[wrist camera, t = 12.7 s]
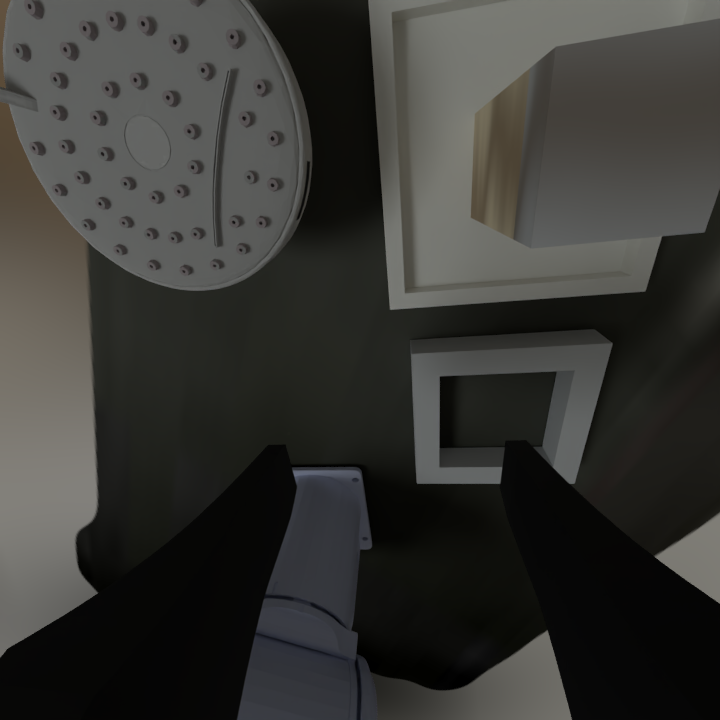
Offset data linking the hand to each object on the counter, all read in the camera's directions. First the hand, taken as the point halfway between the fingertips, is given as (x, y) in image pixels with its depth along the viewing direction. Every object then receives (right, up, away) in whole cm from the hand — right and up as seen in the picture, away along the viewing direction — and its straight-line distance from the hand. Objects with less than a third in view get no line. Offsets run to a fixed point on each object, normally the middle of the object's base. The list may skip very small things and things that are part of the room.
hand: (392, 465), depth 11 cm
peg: (+6, +12, +3) cm, 14 cm away
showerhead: (-7, +13, +5) cm, 16 cm away
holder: (+7, +1, +10) cm, 13 cm away
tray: (+6, +12, +4) cm, 14 cm away
